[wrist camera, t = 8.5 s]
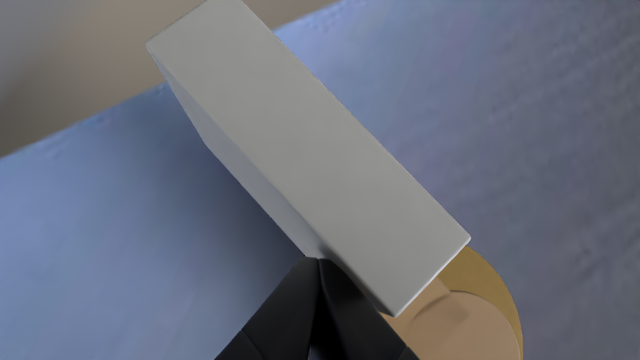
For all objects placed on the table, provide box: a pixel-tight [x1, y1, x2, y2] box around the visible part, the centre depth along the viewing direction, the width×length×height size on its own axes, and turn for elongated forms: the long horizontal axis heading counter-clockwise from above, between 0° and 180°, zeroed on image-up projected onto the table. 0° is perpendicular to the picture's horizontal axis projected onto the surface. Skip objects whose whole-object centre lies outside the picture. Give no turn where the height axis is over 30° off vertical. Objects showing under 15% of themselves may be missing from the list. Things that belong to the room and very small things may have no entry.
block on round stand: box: [145, 0, 520, 360], centre depth 12 cm, size 13×4×7 cm, turn 43°
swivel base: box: [437, 245, 523, 360], centre depth 15 cm, size 8×8×1 cm
